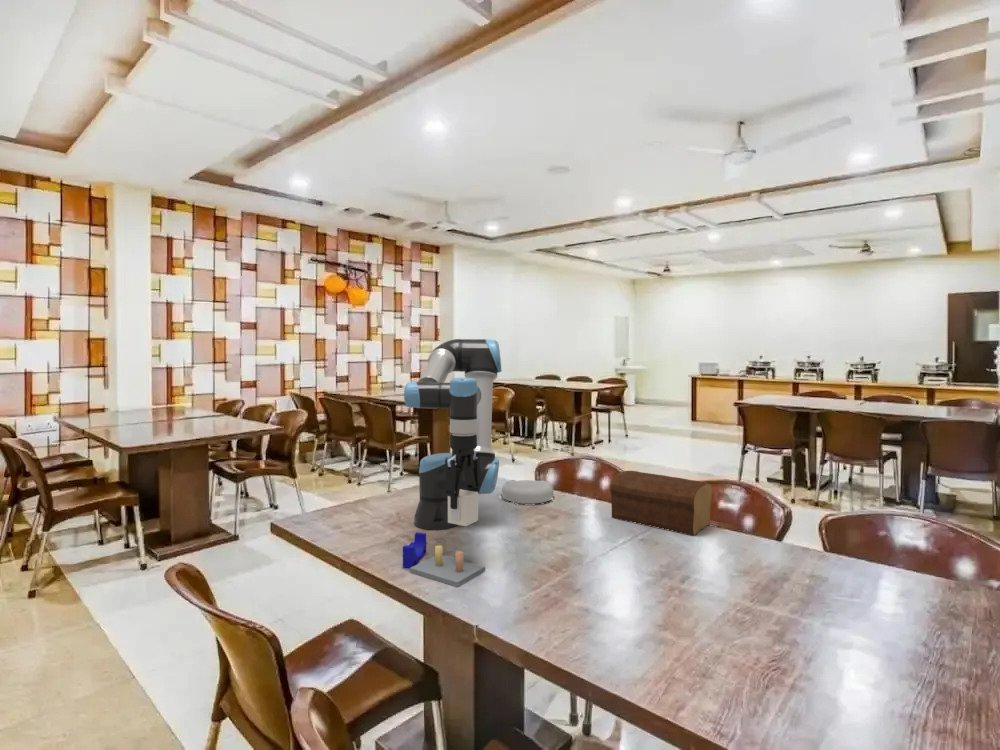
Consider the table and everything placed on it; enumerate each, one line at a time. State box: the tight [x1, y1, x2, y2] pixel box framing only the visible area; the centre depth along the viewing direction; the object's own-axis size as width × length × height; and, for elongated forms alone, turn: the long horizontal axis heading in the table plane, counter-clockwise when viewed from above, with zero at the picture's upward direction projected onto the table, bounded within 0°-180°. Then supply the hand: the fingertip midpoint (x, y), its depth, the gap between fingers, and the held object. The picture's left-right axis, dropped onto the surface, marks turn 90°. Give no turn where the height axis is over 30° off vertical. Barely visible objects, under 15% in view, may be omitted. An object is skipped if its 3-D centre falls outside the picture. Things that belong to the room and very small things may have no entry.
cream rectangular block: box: [448, 489, 479, 527], centre depth 156 cm, size 6×6×8 cm
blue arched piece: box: [402, 532, 427, 570], centre depth 158 cm, size 12×4×6 cm, turn 171°
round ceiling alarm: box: [501, 479, 554, 506], centre depth 224 cm, size 25×25×6 cm
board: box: [409, 544, 486, 588], centre depth 150 cm, size 12×16×6 cm
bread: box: [610, 470, 713, 536], centre depth 195 cm, size 18×30×16 cm, turn 51°
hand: (462, 516), depth 156 cm, fingers closed on cream rectangular block, 6 cm apart
